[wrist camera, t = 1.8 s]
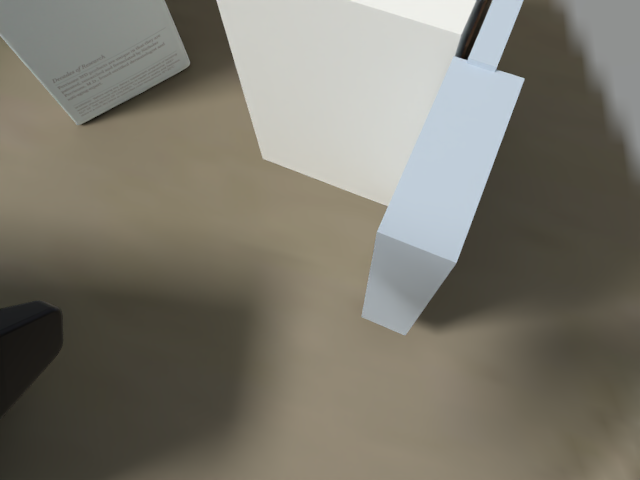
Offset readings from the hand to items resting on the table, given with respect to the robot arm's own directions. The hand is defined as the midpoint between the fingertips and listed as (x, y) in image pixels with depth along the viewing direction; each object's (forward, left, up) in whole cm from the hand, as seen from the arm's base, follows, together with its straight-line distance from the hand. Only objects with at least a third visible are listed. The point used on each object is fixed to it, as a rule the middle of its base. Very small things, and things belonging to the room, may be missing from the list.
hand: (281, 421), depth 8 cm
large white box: (+13, -8, -14) cm, 21 cm away
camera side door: (+7, -10, -13) cm, 18 cm away
